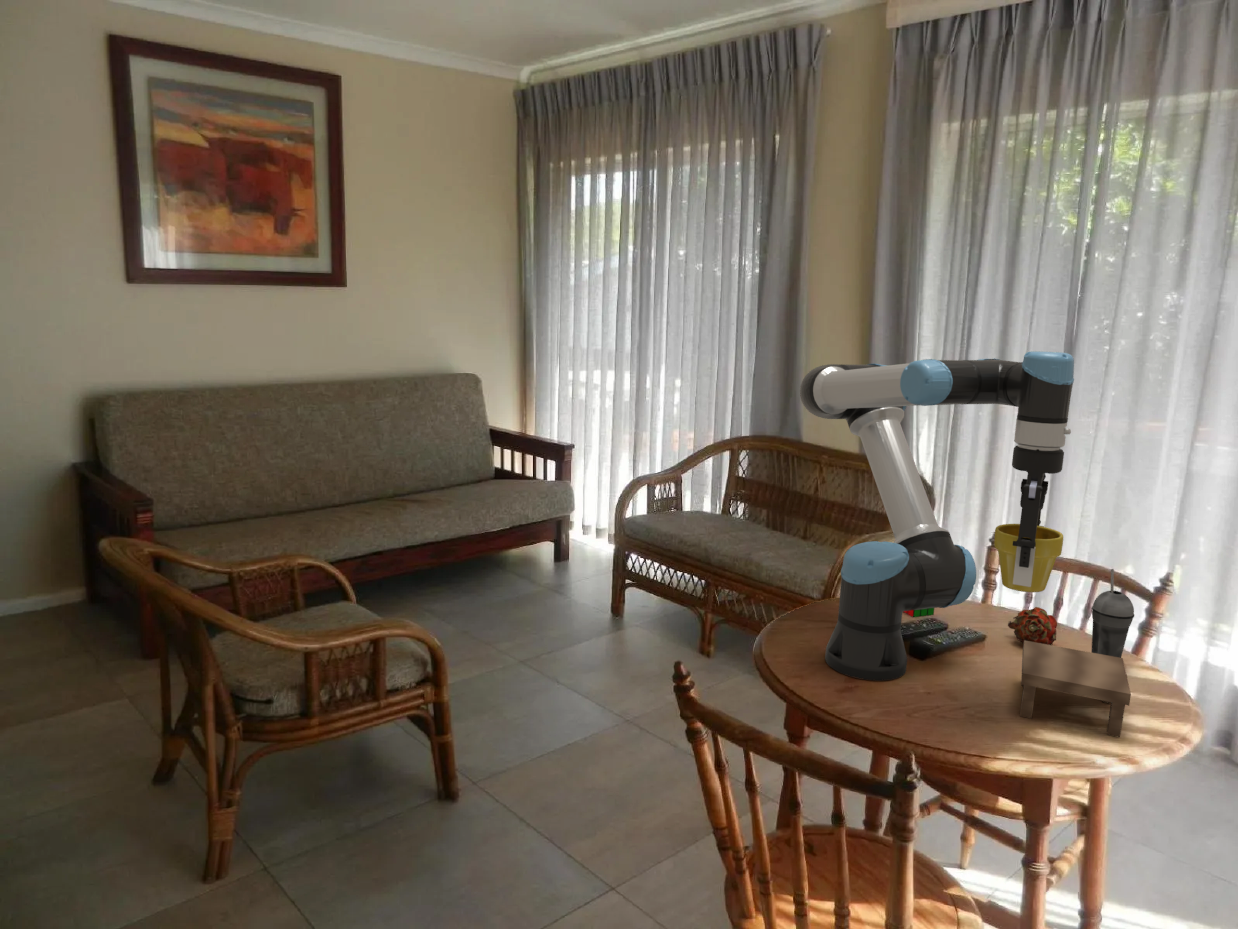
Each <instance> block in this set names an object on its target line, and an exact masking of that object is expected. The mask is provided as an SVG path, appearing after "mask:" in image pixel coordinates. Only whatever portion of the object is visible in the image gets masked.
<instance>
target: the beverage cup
mask: <svg viewBox="0 0 1238 929" xmlns="http://www.w3.org/2000/svg"><path fill="white" fill-rule="evenodd" d="M1114 572H1115V570H1114V568H1111V569H1110V590H1106V591H1103V592H1101V593H1100V594H1098V596H1096V597H1095V599H1094V601H1093V603H1092V606H1091V616H1092V617H1091V619H1092V630H1091V631H1092V633H1091V634H1092V635H1091V651H1090V652H1091V653H1097V654H1102V655H1108V656H1113V657H1119V658H1122V656H1123V652H1124V649H1125V648H1124V647H1125V644H1126V640H1127V637H1128V633H1129V630H1130V627H1131V625H1132V622H1133V619H1134V618H1135V608H1134V605H1133V602H1132V600H1131V599H1130V597H1128V596H1127V595H1126V594H1125V593H1123V592H1121V591H1118V590H1114V587H1115V586H1114V584H1115V582H1114V581H1115V580H1114V578H1115V576H1114V575H1115V573H1114Z"/></svg>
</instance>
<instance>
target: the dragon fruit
mask: <svg viewBox="0 0 1238 929" xmlns="http://www.w3.org/2000/svg"><path fill="white" fill-rule="evenodd" d="M1012 619H1013V621H1012V620H1009V621H1008V623H1007V626H1008V628H1009V629H1011V630H1014V631H1013V633H1014V636H1015V639H1017V640H1018V641H1019V642H1020V643H1023V644H1024V640H1025V641H1030V642H1036V643H1041V644H1047V645H1053V643H1054V642H1055V641H1056V640H1057V626H1058V622H1057V620H1056V617H1054V616H1053V615H1052V614H1048V613H1047V610H1045V609H1043V608H1041V607H1039V606H1034V607H1033V608H1030V609H1023V610H1021V611H1018V613H1017V615H1016V616H1014V617H1013V618H1012Z"/></svg>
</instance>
